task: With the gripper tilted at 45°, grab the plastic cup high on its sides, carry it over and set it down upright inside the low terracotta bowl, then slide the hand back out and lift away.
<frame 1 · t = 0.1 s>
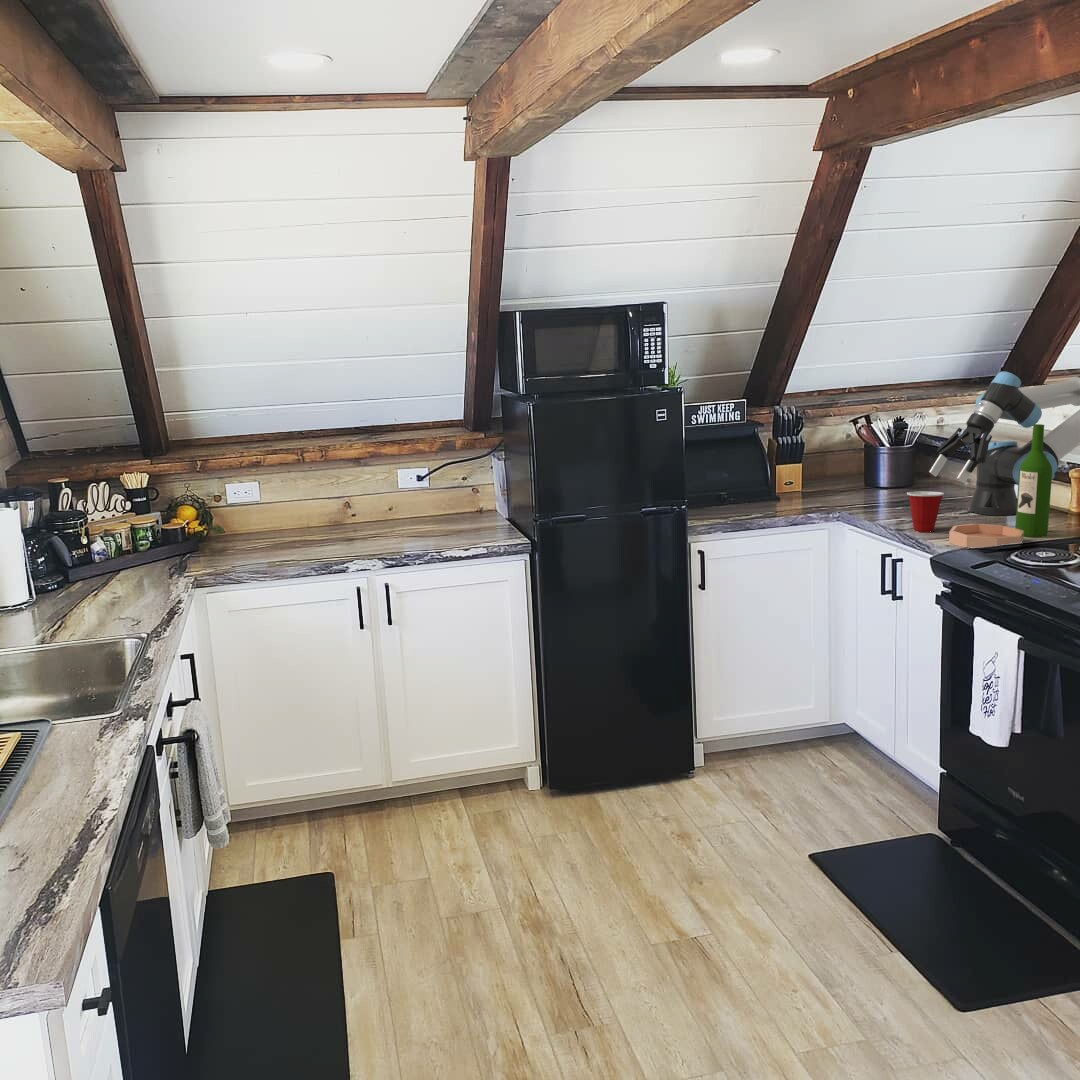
hand: (946, 477, 343), 15 cm above the worktop, tool tilted 35°, fingers open, 13 cm apart
plastic cup: (923, 531, 341), on the worktop
wine bottle: (1031, 535, 332), on the worktop
terracotta bowl: (985, 542, 323), on the worktop
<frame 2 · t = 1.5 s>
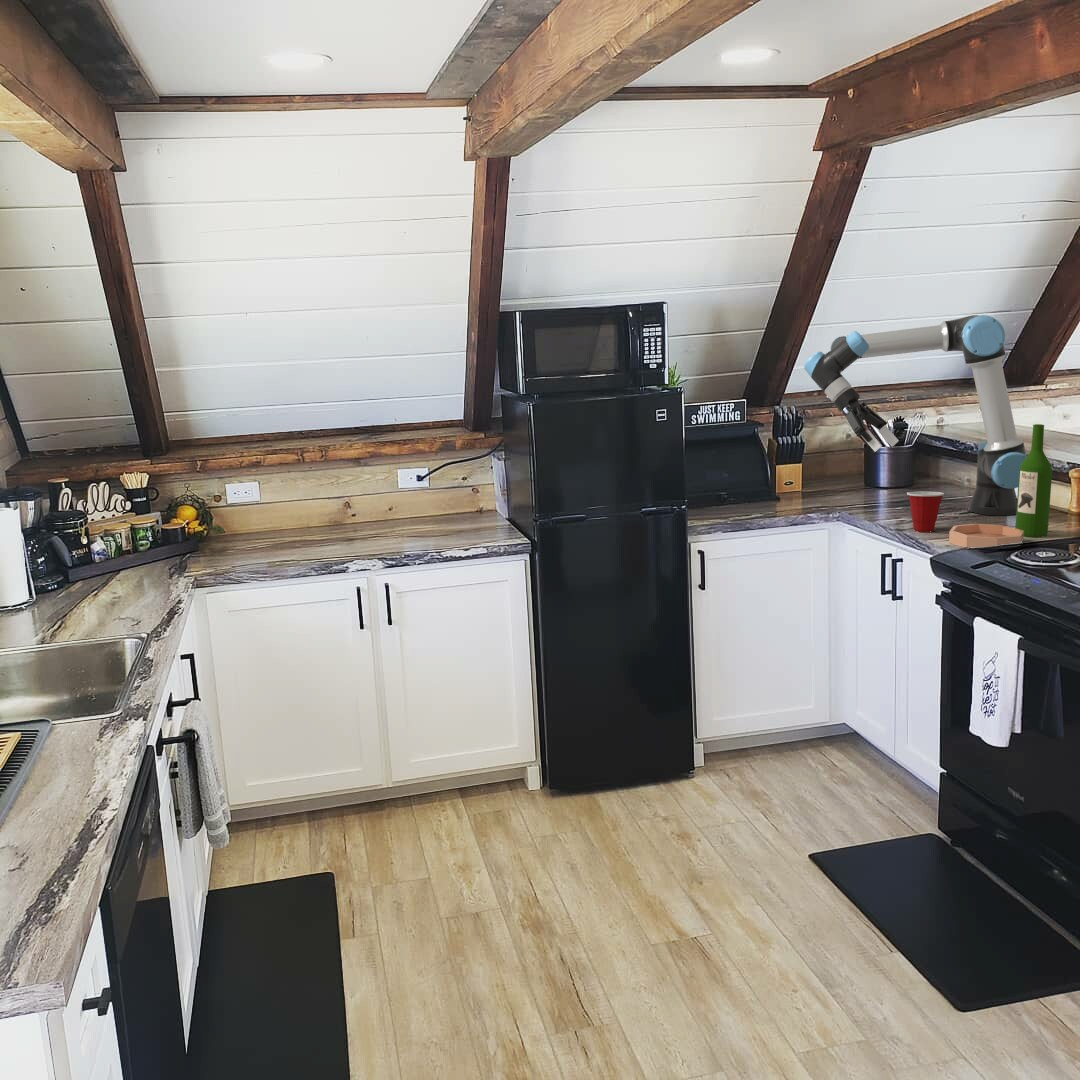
hand: (887, 446, 343), 25 cm above the worktop, tool tilted 45°, fingers open, 13 cm apart
nothing on the worktop moved.
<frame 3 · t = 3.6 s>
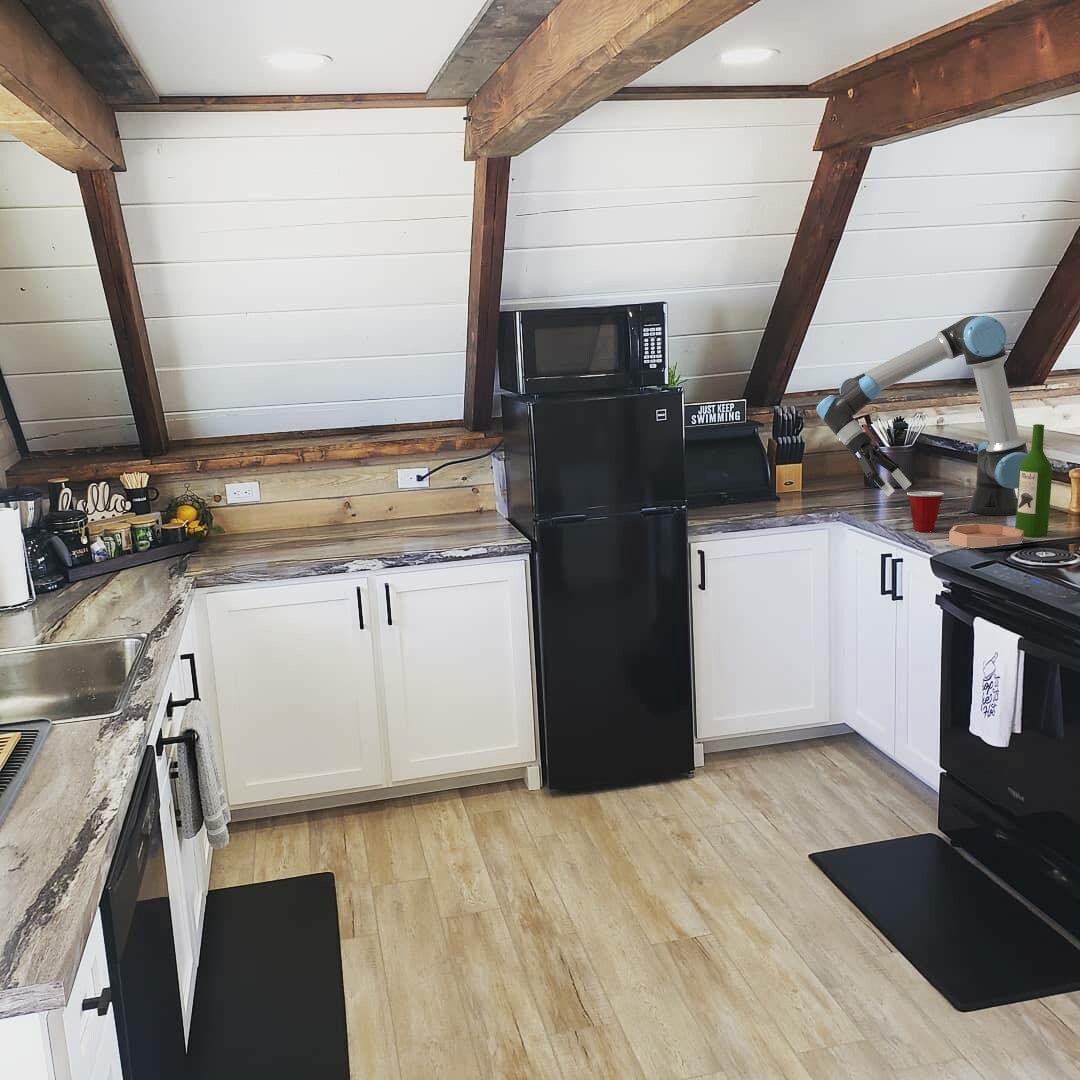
hand: (900, 490, 343), 12 cm above the worktop, tool tilted 45°, fingers open, 13 cm apart
nothing on the worktop moved.
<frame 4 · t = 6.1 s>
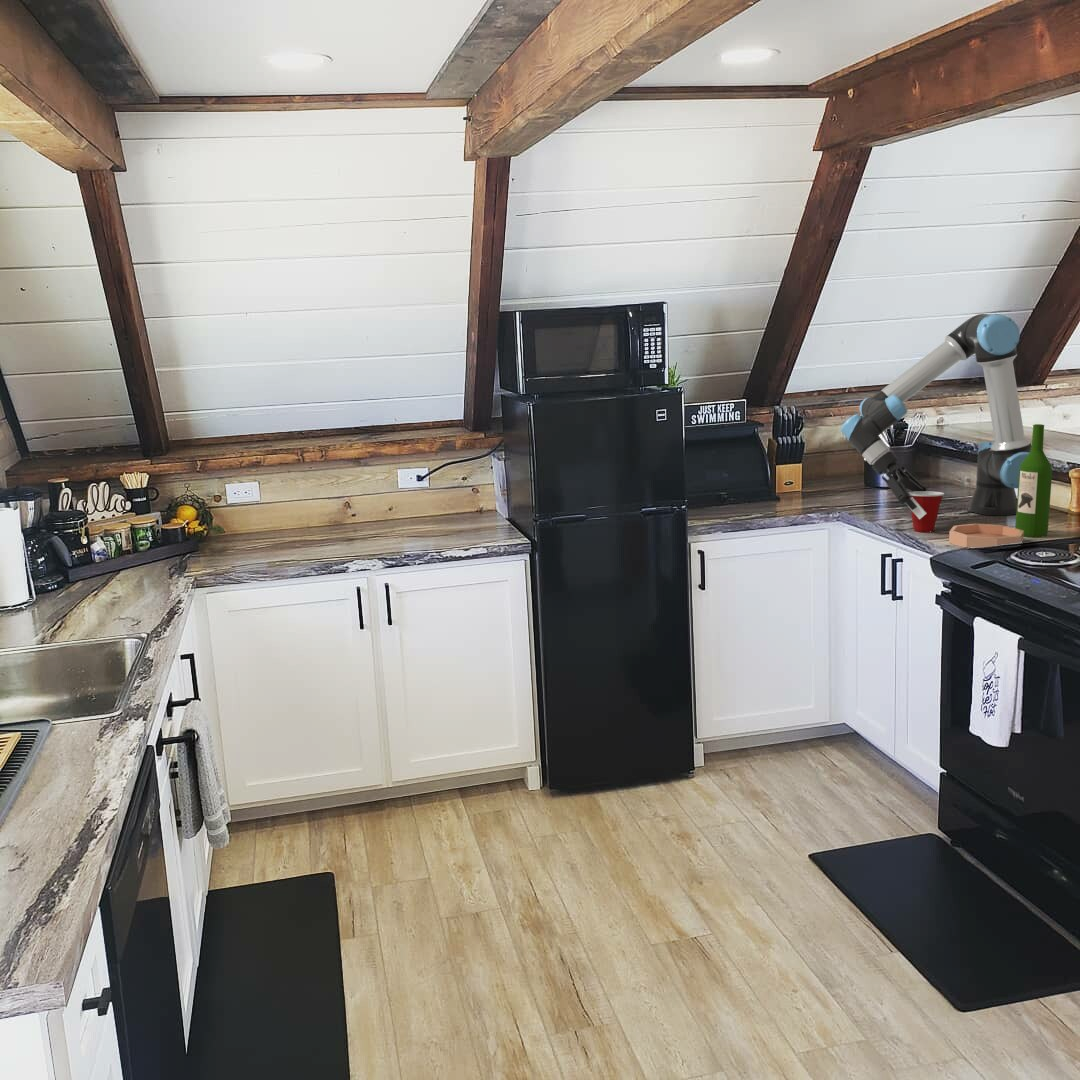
hand: (929, 513, 339), 5 cm above the worktop, tool tilted 45°, fingers closed on plastic cup, 10 cm apart
plastic cup: (923, 531, 341), on the worktop, touching gripper
everything else where it was.
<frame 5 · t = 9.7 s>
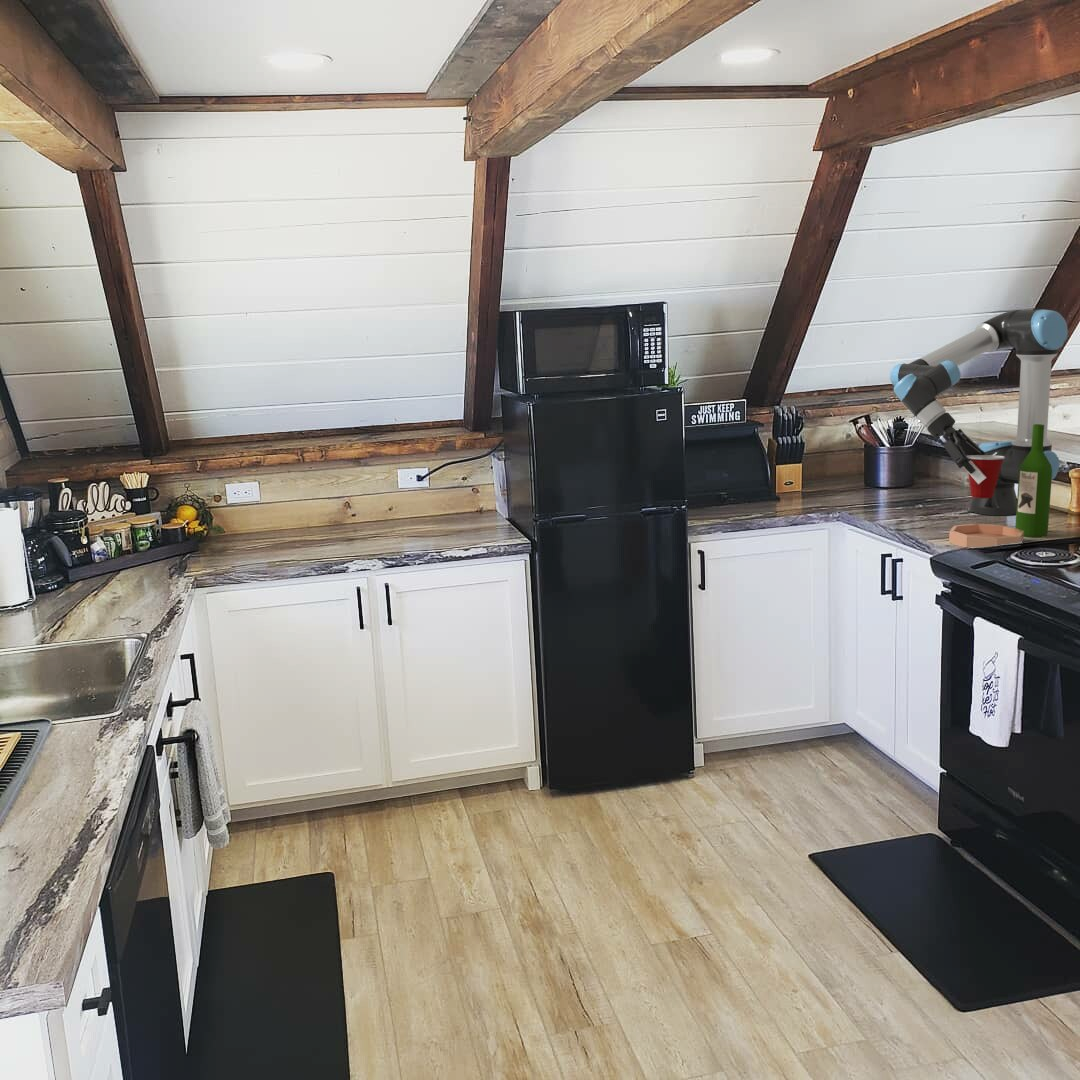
hand: (988, 478, 319), 19 cm above the worktop, tool tilted 45°, fingers closed on plastic cup, 10 cm apart
plastic cup: (981, 497, 321), point 13 cm above the worktop, touching gripper
everything else where it was.
when the fingers open (7 cm above the worktop, at t = 13.3 s): plastic cup moves 1 cm, resting on terracotta bowl.
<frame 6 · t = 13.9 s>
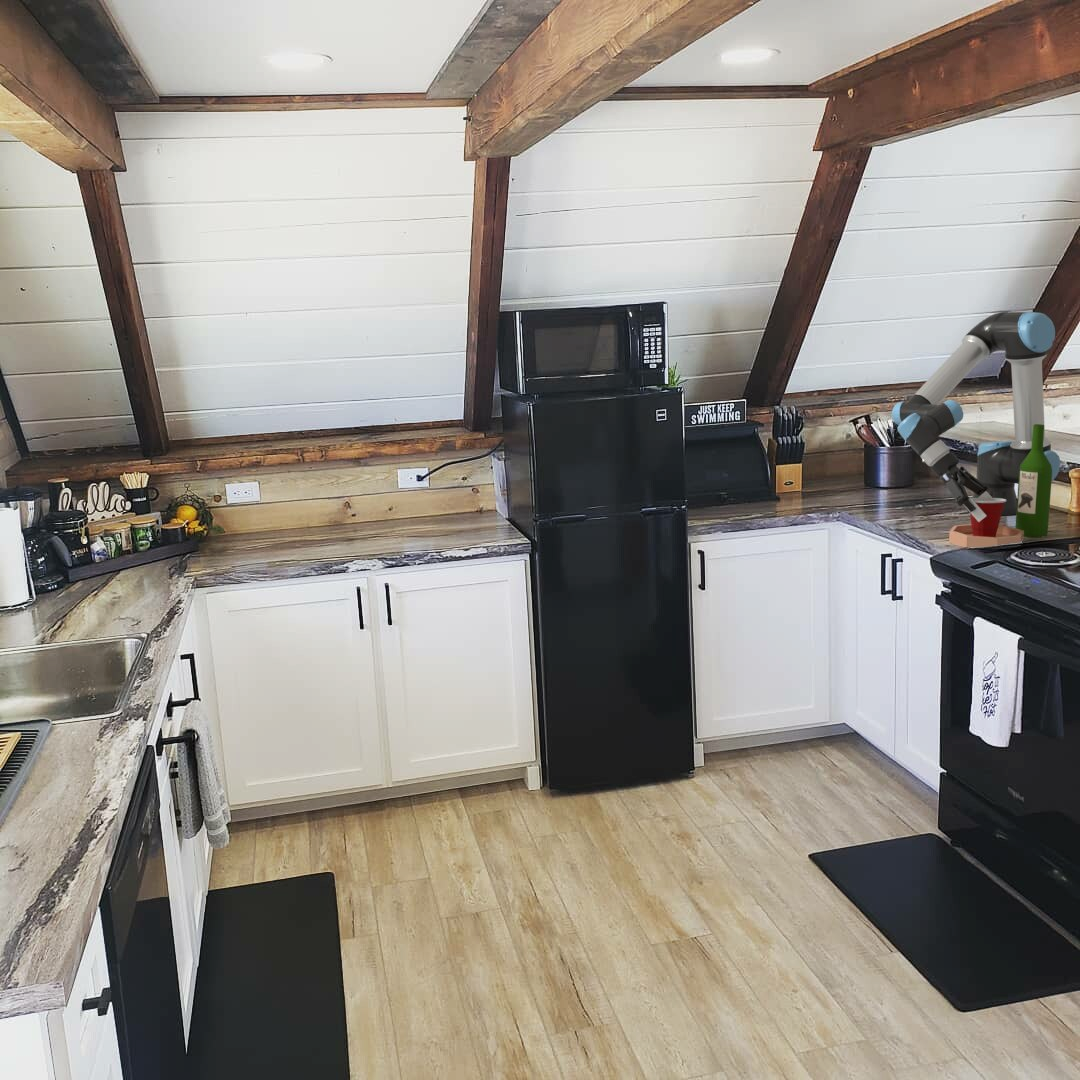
hand: (990, 515, 321), 8 cm above the worktop, tool tilted 45°, fingers open, 13 cm apart
plastic cup: (983, 539, 323), point 1 cm above the worktop, touching terracotta bowl
everything else where it was.
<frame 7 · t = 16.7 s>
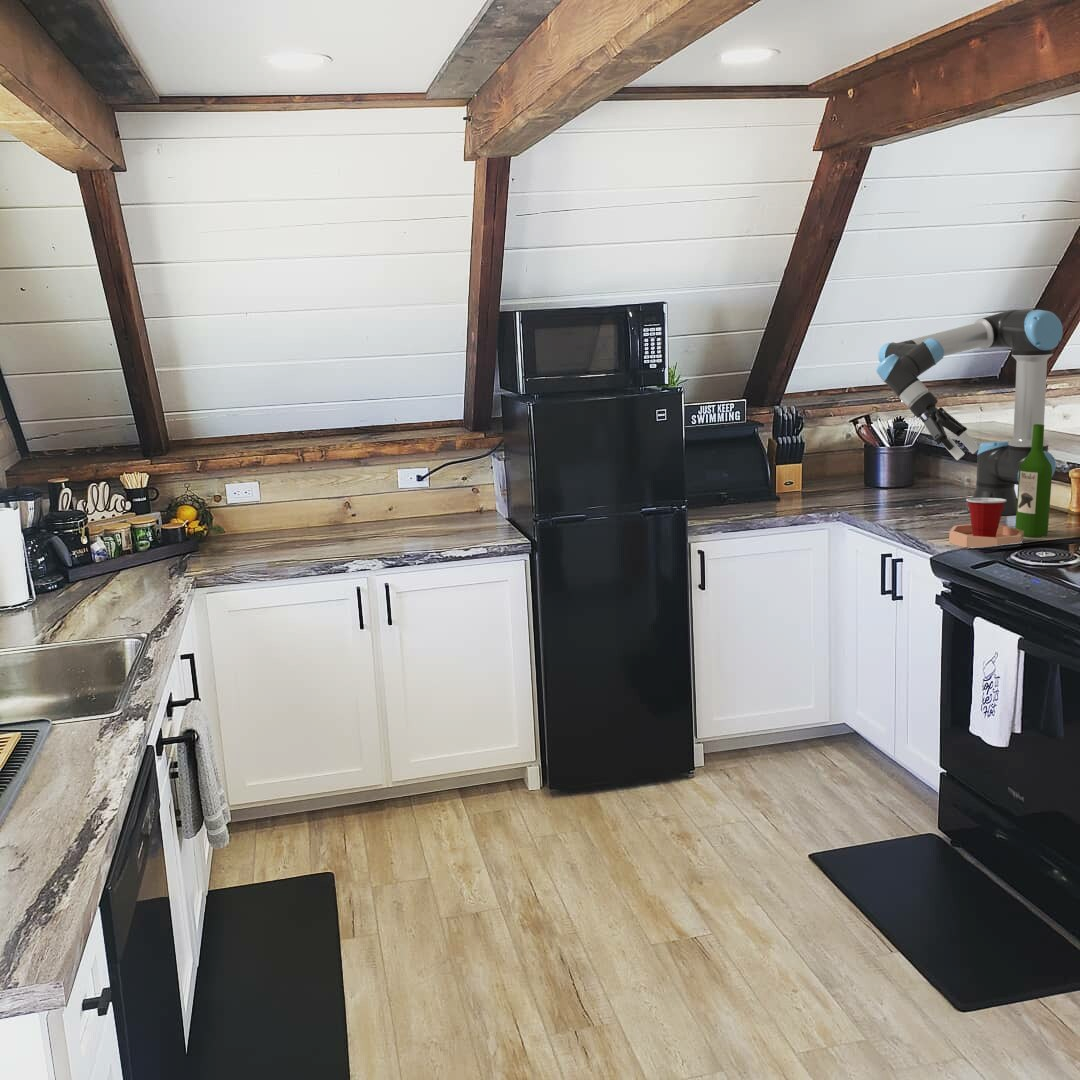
hand: (968, 454, 322), 25 cm above the worktop, tool tilted 45°, fingers open, 13 cm apart
nothing on the worktop moved.
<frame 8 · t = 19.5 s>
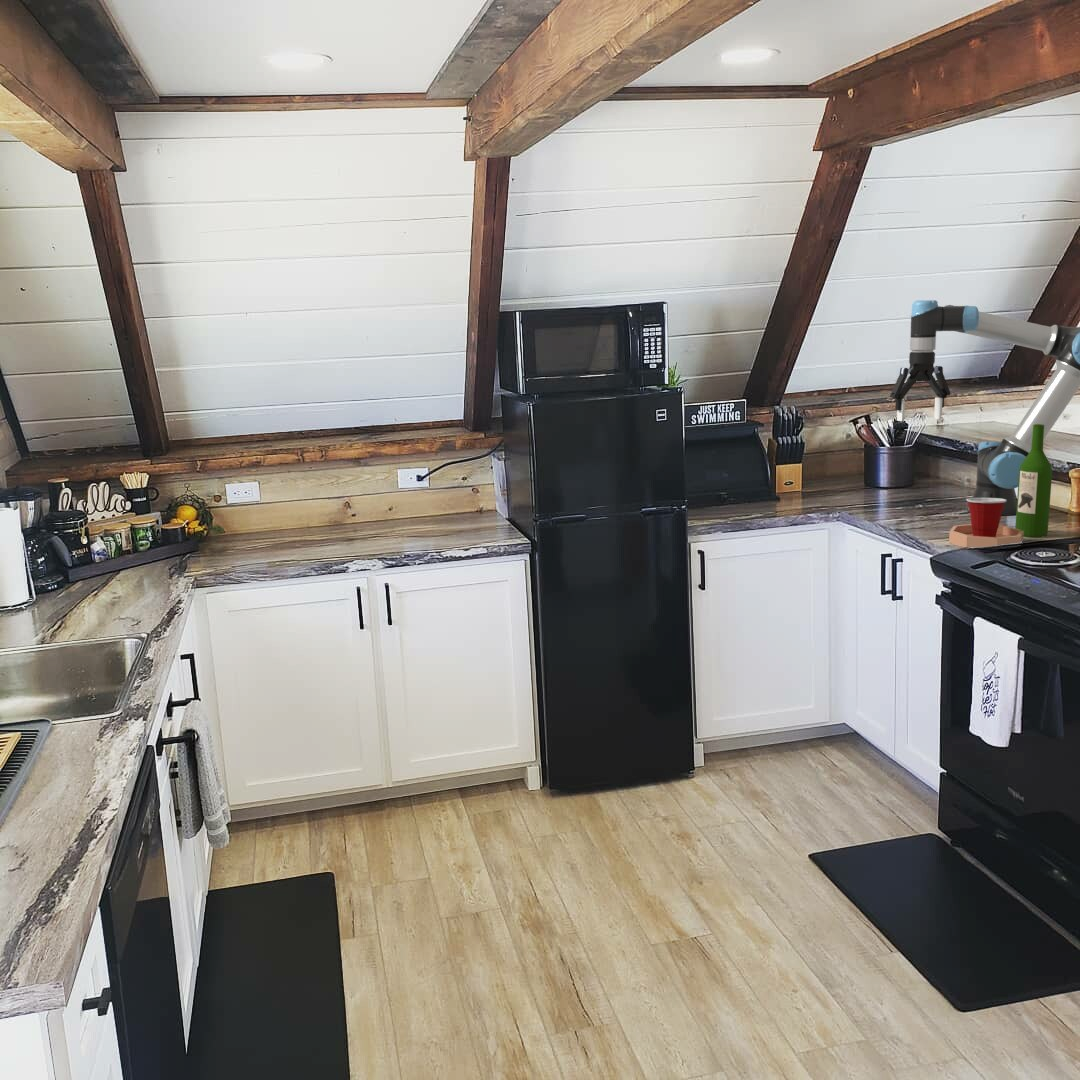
hand: (919, 419, 352), 32 cm above the worktop, tool pointing down, fingers open, 13 cm apart
nothing on the worktop moved.
at the end: plastic cup inside the target area on the terracotta bowl (0.6 cm from its centre), point 0.8 cm above the terracotta bowl's base; plastic cup tilted 0°; the gripper is holding nothing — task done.
